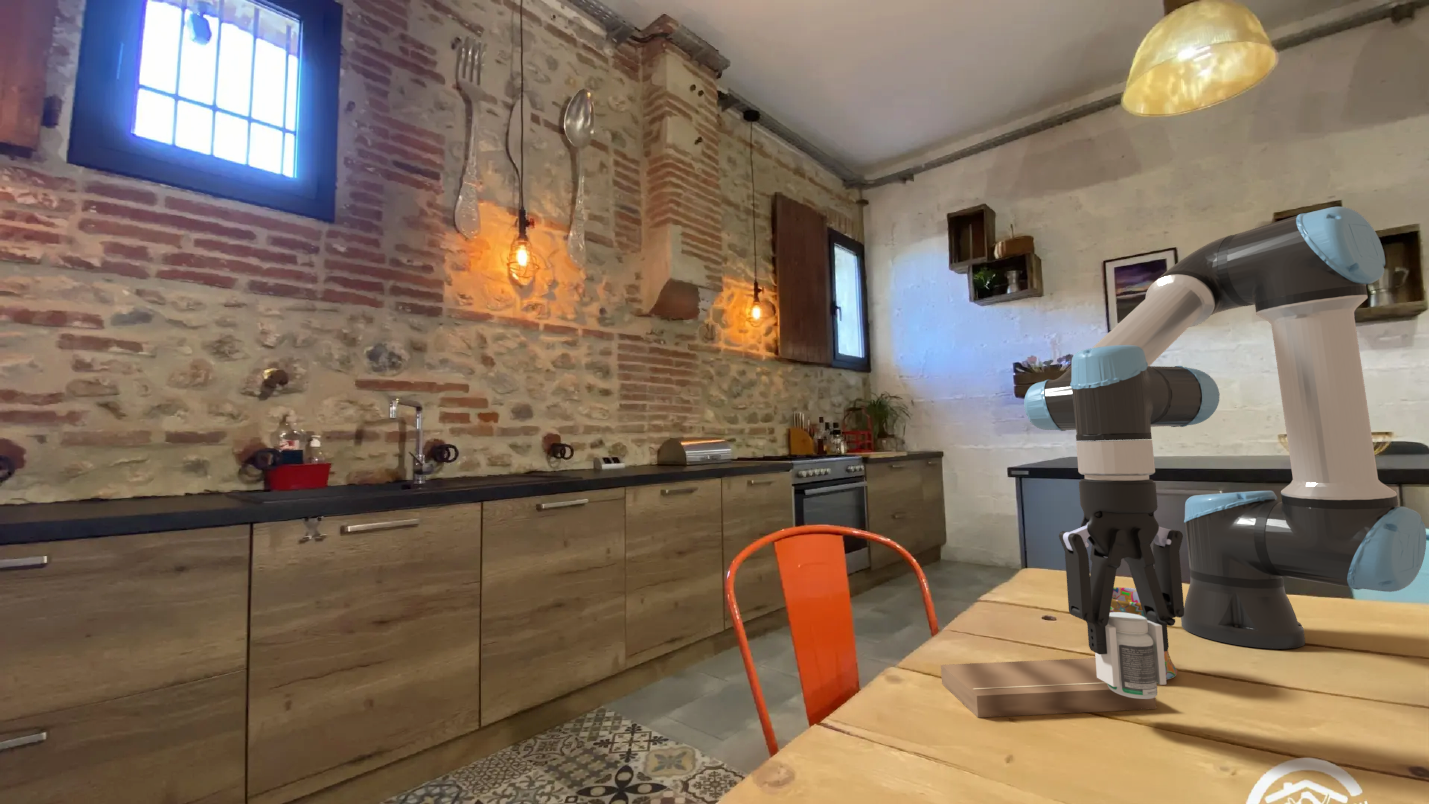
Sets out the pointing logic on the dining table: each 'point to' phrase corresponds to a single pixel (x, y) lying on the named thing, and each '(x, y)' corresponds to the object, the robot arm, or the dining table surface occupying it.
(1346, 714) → the dining table surface
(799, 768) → the dining table surface
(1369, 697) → the dining table surface
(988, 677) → the board
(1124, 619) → the pill bottle
